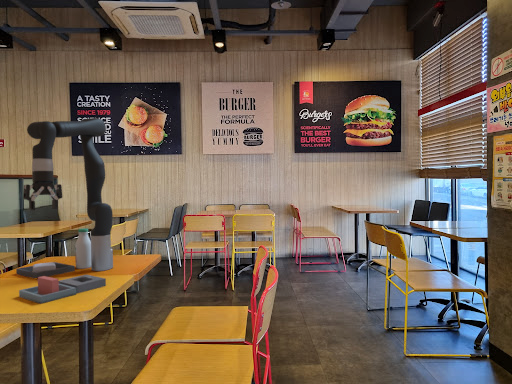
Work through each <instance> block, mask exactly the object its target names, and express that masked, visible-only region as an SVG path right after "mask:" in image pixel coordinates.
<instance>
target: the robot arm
mask: <svg viewBox="0 0 512 384" xmlns="http://www.w3.org/2000/svg"><path fill="white" fill-rule="evenodd" d="M106 130H107V127H106V123H105V121H104V120H102V119H101V118H98V117H90V118H84V119H81V120H80V121H79V120H78V121H77V120H76V121H75V120H73V121H72V120H71V121H69V120H61V121H60V120H57V121H49V120H45V121H34V122H31V123H29V124H28V126H27V128H26V131H27V134H28V135H29V137H31V138H32V139H35V140H39V142H38V143H37V144H35V145H32V150H31V152H32V161H31V163H32V164H31V173H32V174H31V178H32V183H31V184H24V185H23V196H22V197H23V200H26V201H28V208H29V210H30V211H36V201H35V200H36V198H37V197H39V196H48V197H50V198H51V199H52V200H51V205H52V206H51V208H52V210H56V209H57V208H59V207H58V204H59V200H60V199H62V198H63V190H62V189H63V187H62V186H63V185H62V184H54V177H55V175H54V162H53V148H54V145H55V141H56V138H59V139H60V138H69V137H76V136H79V137H80V141H81V142H80V143H81V148H82V154H83V155H82V156H83V163H84V165H83V166H84V174H85V175H84V176H85V185H86V213H87V216H88V218H89V219H90V221H93V222H94V227H93V228H92V229H91V230H90V241H91V267H90V269H91V271H95V272H103V271H107V270H111V269H113V268H114V254H113V253H114V252H113V251H114V250H113V248H112V239H111V237H112V236H111V233H112V230H113V209H112V206H111V205H110V204H109V203H106V202H103V201H102V200H103V199H102V189H103V188H104V184H105V180H106V166H105V162H104V160H103V158H102V157H101V155H100V154H99V152H98V151H97V149H96V148H95V144H94V138H97V137H98V138H99V137H103V135H104V134H106ZM31 190H33V191H32V192H31V194H30V191H31ZM54 190H55V192H54Z"/></svg>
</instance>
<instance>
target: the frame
mask: <svg viewBox="0 0 512 384" xmlns="http://www.w3.org/2000/svg"><path fill="white" fill-rule="evenodd" d="M53 263H55V266H56V269H54V270H49V271H44V272H38V273H36V272H33V265H30V266H24V267H19V268H16V269H15V270H16V271H15V272H16V273H15V274H16V275H19V276H22V277H27V278H30V277H31V279H34V278H38V277H42V276H46V277H53V276H56V275H62V274H65V273H66V274H67V273H71V272H75V271H76V270H75V268H76V265H71V264H67V263H63V262H62V263H60V262H57V261H53Z"/></svg>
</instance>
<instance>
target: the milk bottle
mask: <svg viewBox="0 0 512 384" xmlns="http://www.w3.org/2000/svg"><path fill="white" fill-rule="evenodd" d="M77 233H78V237H77V240H76V242H75V245H74V247H75V249H74V250H75V251H74V252H75V256H74V257H75V268H76V269H79V270H80V269H84V270H85V269H91V238H90V237H89V235H88V234H89V229H88V228H79V229H78V230H77Z"/></svg>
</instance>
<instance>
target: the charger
mask: <svg viewBox="0 0 512 384" xmlns="http://www.w3.org/2000/svg"><path fill="white" fill-rule="evenodd" d="M53 262H54V261H53ZM53 262H52V261H51V262H42V263H40V262H39V263H35V264H33V265H32V266H33V271H32V272H36V273H38V272H44V271H49V270H54V269H57V268H56V266H55V263H53Z"/></svg>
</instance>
